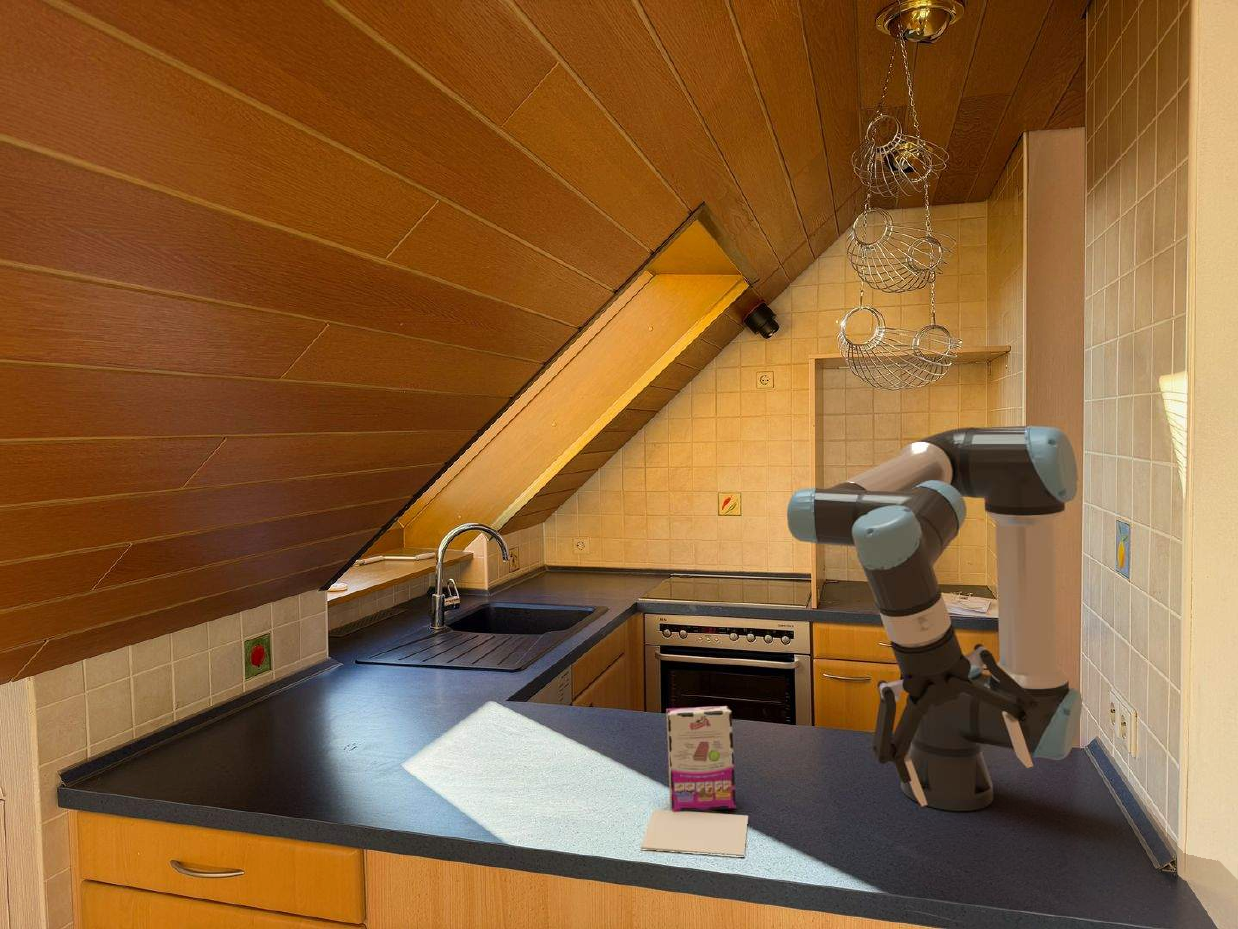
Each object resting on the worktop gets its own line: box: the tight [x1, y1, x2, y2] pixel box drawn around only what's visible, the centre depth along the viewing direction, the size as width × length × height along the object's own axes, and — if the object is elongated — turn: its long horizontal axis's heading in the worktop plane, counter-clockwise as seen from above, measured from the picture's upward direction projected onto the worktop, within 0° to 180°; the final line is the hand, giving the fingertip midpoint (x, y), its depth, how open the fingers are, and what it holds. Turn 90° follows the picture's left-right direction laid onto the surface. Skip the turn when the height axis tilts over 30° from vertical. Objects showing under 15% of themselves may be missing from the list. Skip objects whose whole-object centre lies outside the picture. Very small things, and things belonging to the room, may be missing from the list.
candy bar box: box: [665, 705, 737, 812], centre depth 146 cm, size 11×5×16 cm, turn 92°
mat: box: [640, 808, 749, 856], centre depth 136 cm, size 13×16×1 cm
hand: (972, 780), depth 105 cm, fingers open, 13 cm apart
